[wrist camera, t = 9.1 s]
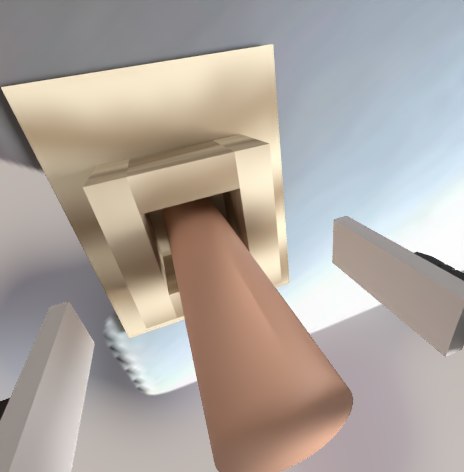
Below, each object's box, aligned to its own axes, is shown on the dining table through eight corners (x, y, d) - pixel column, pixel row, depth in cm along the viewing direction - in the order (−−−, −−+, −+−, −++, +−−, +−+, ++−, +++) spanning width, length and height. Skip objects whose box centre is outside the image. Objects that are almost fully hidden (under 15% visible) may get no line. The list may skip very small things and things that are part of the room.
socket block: (8, 88, 15) (-58, 81, 10) (266, 46, 18) (316, 25, 13) (129, 330, 25) (127, 389, 20) (284, 277, 28) (317, 316, 23)
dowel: (156, 197, 19) (197, 425, 6) (209, 183, 20) (357, 357, 6) (171, 243, 21) (228, 497, 8) (219, 230, 22) (349, 438, 8)
